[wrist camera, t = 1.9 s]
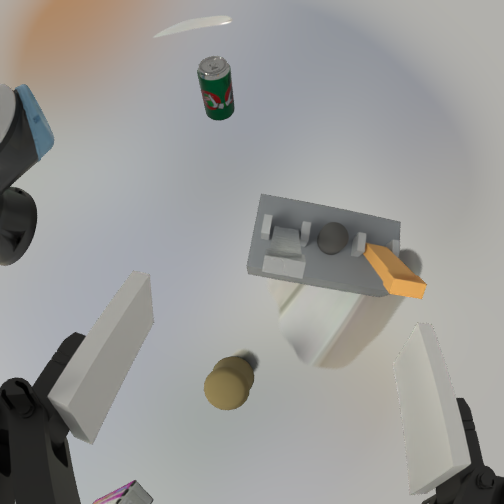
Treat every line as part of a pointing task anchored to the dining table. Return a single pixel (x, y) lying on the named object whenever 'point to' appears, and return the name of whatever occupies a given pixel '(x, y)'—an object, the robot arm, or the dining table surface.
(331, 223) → the button
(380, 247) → the orange lever
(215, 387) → the cork
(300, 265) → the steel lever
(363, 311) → the dining table surface
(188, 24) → the dining table surface
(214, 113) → the soda can
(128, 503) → the candy bar box
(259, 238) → the console
